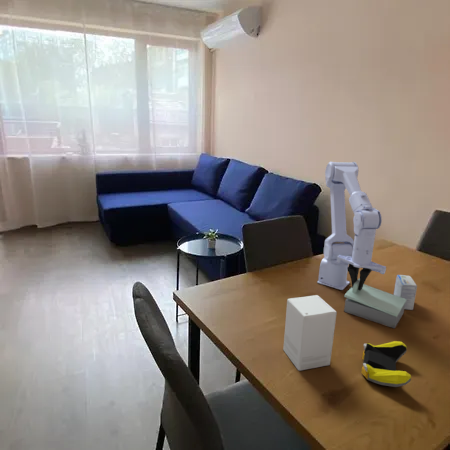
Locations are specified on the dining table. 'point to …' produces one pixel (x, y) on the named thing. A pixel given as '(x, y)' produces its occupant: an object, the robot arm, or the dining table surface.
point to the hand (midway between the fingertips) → (357, 288)
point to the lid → (376, 299)
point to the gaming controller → (384, 364)
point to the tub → (372, 313)
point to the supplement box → (309, 332)
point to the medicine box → (406, 290)
